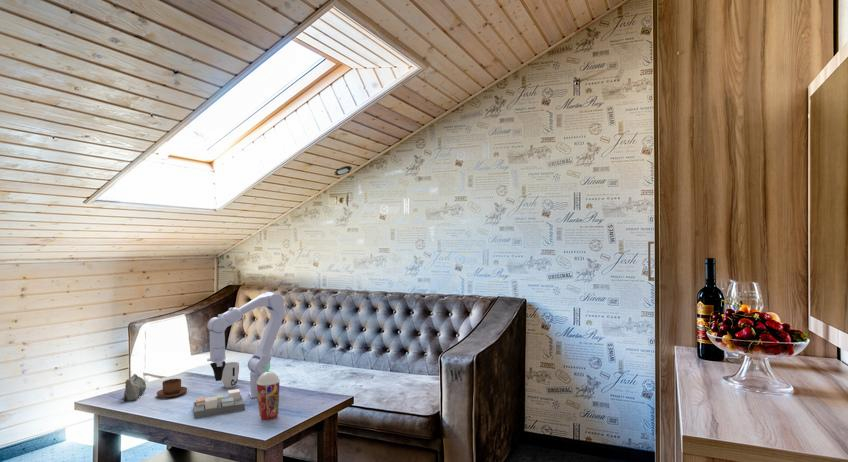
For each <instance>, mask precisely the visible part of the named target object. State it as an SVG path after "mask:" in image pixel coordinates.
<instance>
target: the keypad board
mask: <svg viewBox="0 0 848 462" xmlns="http://www.w3.org/2000/svg"><path fill="white" fill-rule="evenodd" d="M226 398H228V396H224V399H226ZM245 405H246V404H245V401H244V399H243V397H242V395H241V394H240V400H234V405H231V406H225V407H222V402H221V403H217V408H212V409H206V410H205V405H202V406H196V401H193V414H194V419H197V418H204V417H210V416H216V414H217V415H221V414H228V413H233V412H239V411H245V410H246V406H245Z"/></svg>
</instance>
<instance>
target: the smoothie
mask: <svg viewBox="0 0 848 462" xmlns="http://www.w3.org/2000/svg"><path fill="white" fill-rule="evenodd" d="M280 381H281V380H280V378H279V375H277V373H275V372H273V371H270V369H269V364H267V372H264V373H263V374H261V375H260V377H259V379H258V381H257V392H258V397H257V403H258V413H259V417H260V419H261V420H262V421H271V420H275V419H276V418H277V417H278V415H279V410H280V409H279V406H280V405H279V404H280V383H281V382H280Z"/></svg>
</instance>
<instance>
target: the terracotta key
mask: <svg viewBox="0 0 848 462" xmlns="http://www.w3.org/2000/svg"><path fill="white" fill-rule="evenodd" d="M205 398H209V397H208V396H205V397H198V398H195V402H196V406H202V405H205Z"/></svg>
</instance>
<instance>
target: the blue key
mask: <svg viewBox="0 0 848 462" xmlns="http://www.w3.org/2000/svg"><path fill="white" fill-rule="evenodd" d="M221 402H222V407H225V406H231V405H234V400H233V397H232V398H226V399H221Z"/></svg>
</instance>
